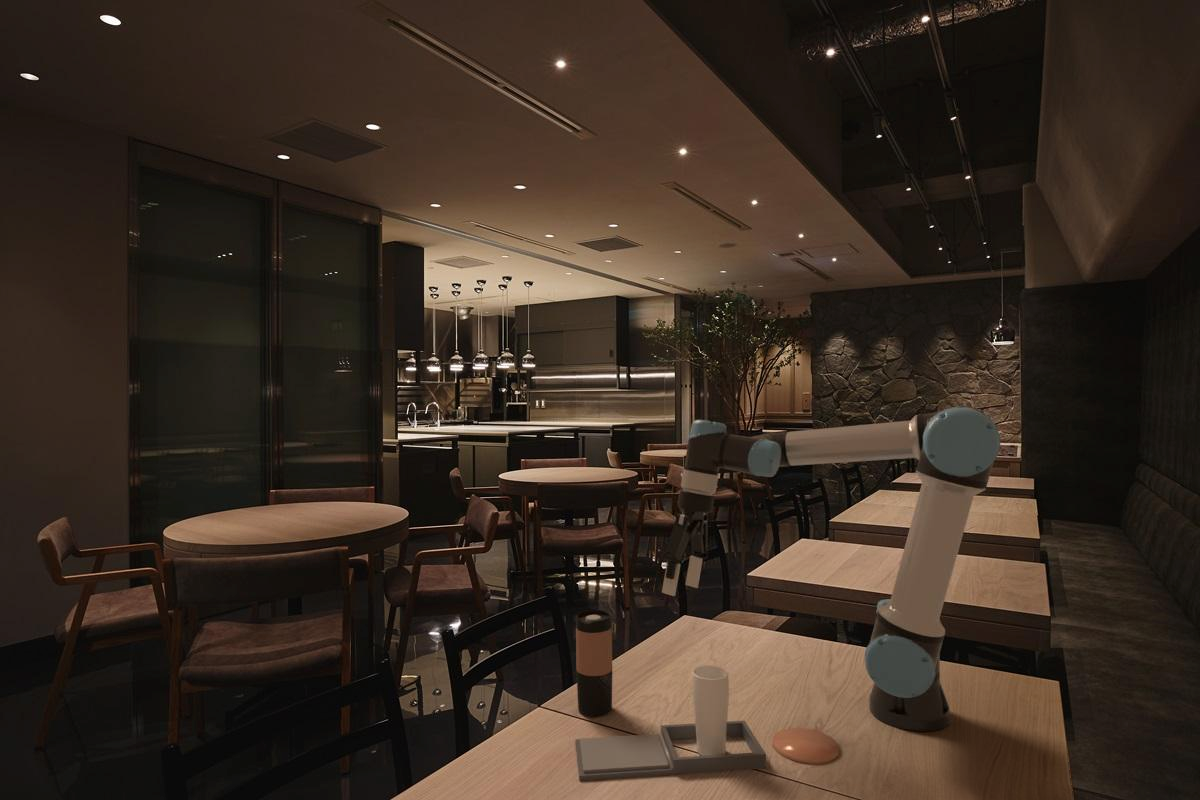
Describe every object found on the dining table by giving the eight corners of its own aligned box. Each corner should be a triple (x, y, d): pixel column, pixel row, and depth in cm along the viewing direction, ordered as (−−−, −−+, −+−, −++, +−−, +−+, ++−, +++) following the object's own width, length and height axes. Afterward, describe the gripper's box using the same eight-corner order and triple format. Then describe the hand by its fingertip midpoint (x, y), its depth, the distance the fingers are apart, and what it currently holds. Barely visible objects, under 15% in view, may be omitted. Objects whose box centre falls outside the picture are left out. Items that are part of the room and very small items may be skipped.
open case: (744, 733, 133) (744, 720, 133) (766, 768, 121) (766, 754, 121) (575, 743, 130) (575, 730, 130) (579, 780, 118) (579, 766, 118)
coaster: (823, 729, 134) (822, 726, 134) (850, 761, 122) (850, 758, 122) (763, 732, 133) (763, 729, 133) (785, 766, 121) (785, 762, 121)
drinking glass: (685, 752, 126) (684, 672, 126) (707, 739, 131) (706, 661, 131) (715, 766, 121) (714, 682, 121) (737, 752, 126) (736, 671, 126)
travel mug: (605, 698, 149) (603, 607, 149) (618, 713, 142) (617, 618, 142) (572, 705, 147) (570, 612, 146) (584, 720, 139) (582, 623, 139)
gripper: (700, 488, 159) (685, 579, 158) (658, 487, 137) (640, 592, 136) (731, 495, 156) (715, 587, 155) (693, 495, 134) (675, 603, 133)
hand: (680, 590), depth 146 cm, fingers open, 13 cm apart
